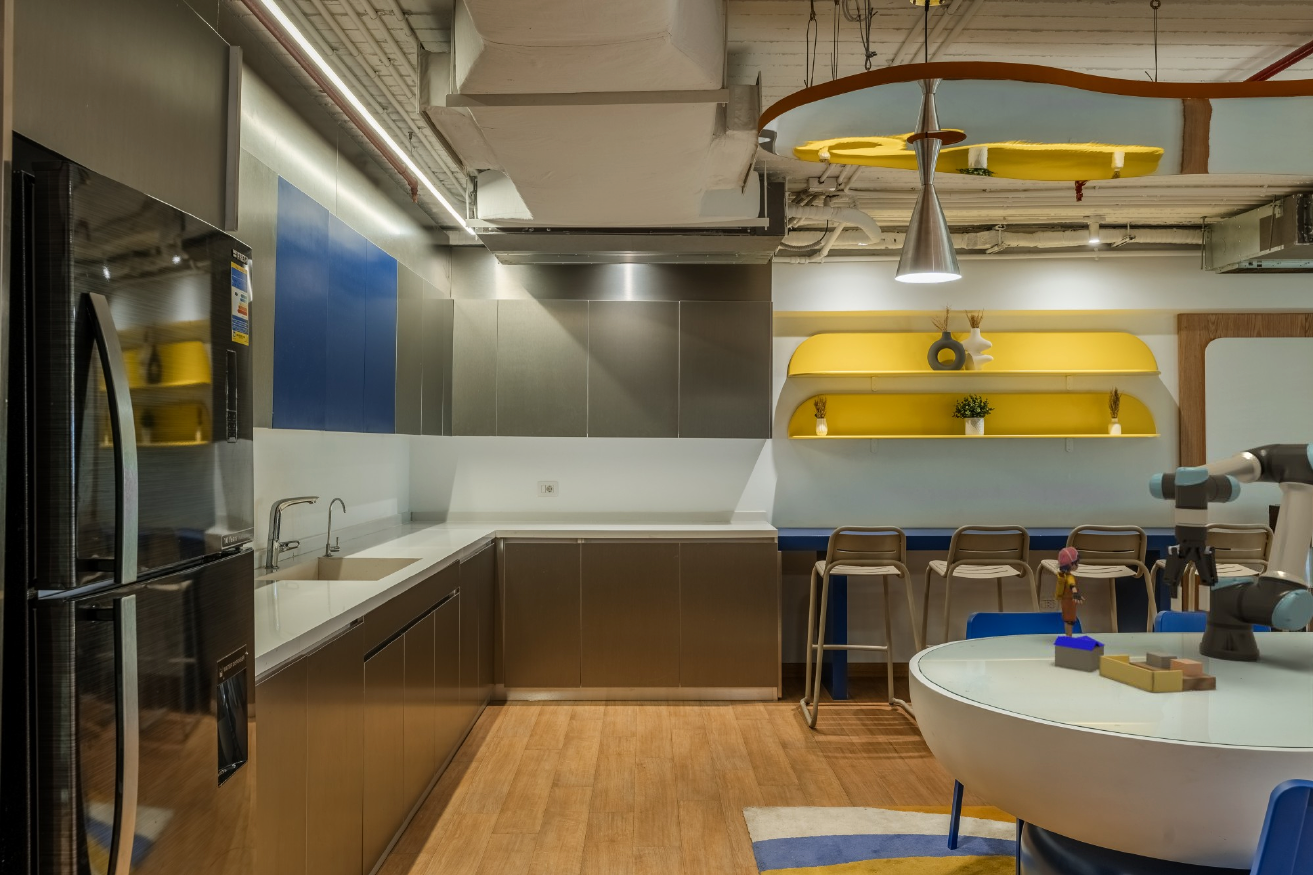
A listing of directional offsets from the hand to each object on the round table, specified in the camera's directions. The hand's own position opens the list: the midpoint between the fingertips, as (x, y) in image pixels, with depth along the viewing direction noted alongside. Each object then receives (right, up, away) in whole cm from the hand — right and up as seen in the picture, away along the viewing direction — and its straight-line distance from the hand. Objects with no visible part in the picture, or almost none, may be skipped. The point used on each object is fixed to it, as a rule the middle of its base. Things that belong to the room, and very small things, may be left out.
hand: (1190, 610), depth 239 cm
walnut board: (-9, -17, -7) cm, 20 cm away
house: (-26, -17, +9) cm, 32 cm away
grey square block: (-9, -14, -3) cm, 17 cm away
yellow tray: (-18, -17, -9) cm, 26 cm away
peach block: (-7, -14, -10) cm, 19 cm away
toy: (-15, -18, +38) cm, 45 cm away
